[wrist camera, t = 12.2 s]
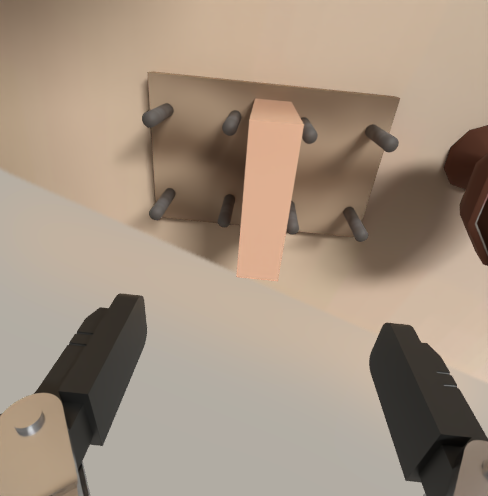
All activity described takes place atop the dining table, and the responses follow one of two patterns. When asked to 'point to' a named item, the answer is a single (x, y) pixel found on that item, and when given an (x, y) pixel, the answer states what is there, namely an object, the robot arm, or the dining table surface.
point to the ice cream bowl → (472, 185)
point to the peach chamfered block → (268, 187)
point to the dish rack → (235, 150)
